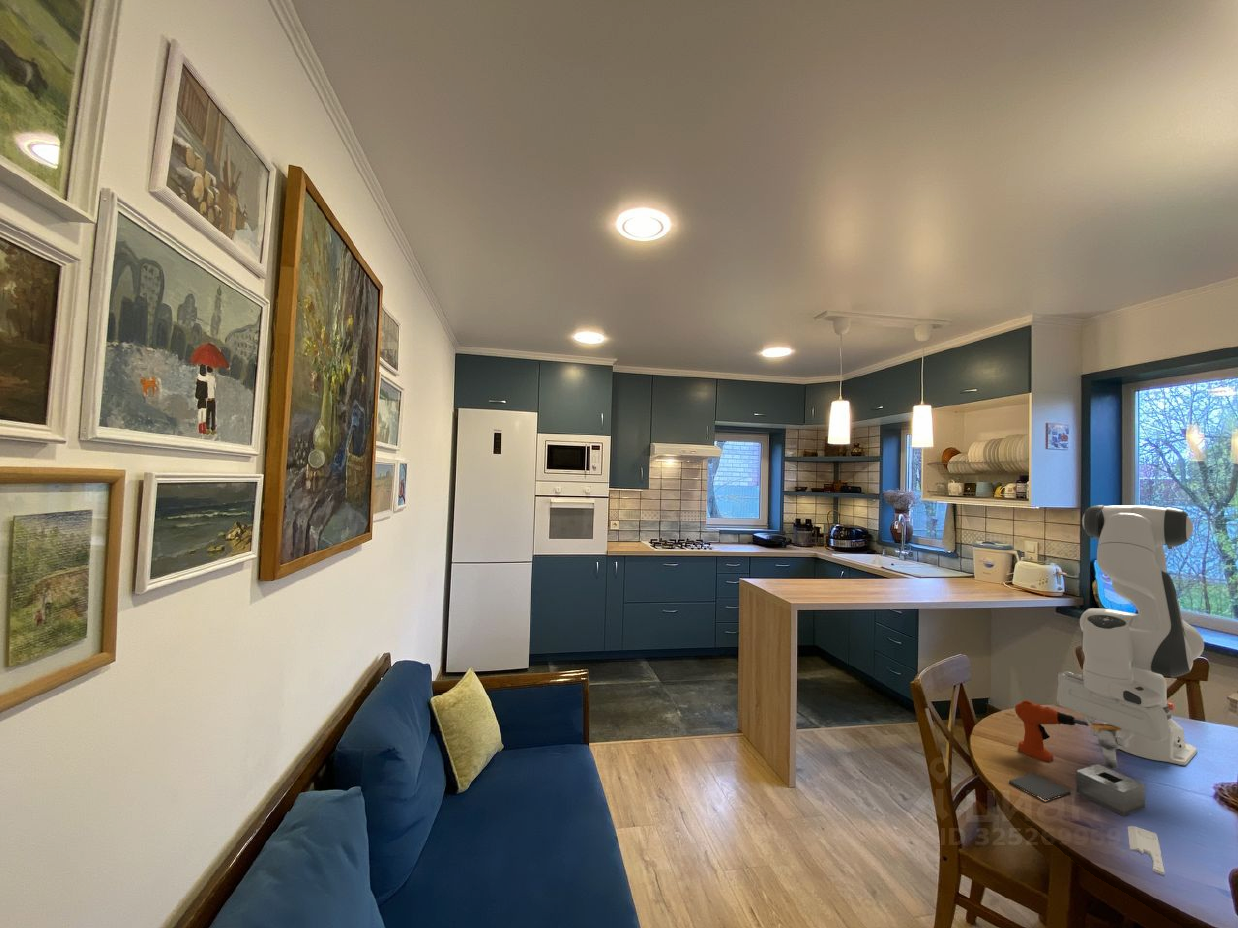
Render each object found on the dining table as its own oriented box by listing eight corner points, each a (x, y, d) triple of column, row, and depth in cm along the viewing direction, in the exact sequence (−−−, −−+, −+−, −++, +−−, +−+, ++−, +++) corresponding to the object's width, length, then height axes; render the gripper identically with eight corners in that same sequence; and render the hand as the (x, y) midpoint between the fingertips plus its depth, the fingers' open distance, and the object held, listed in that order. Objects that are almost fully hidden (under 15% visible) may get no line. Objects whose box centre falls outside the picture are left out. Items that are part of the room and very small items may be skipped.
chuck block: (1097, 785, 127) (1097, 763, 127) (1145, 807, 118) (1144, 784, 118) (1076, 793, 123) (1076, 770, 124) (1123, 816, 115) (1123, 792, 115)
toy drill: (1105, 778, 127) (1093, 717, 129) (1016, 753, 143) (1007, 699, 145) (1110, 772, 130) (1099, 712, 132) (1022, 748, 145) (1014, 695, 147)
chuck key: (1092, 761, 123) (1087, 720, 124) (1119, 762, 122) (1114, 721, 122) (1102, 769, 120) (1097, 727, 120) (1130, 771, 118) (1125, 728, 119)
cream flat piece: (1128, 863, 101) (1128, 857, 101) (1124, 827, 112) (1124, 822, 112) (1165, 876, 98) (1164, 870, 98) (1157, 838, 109) (1157, 832, 109)
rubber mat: (1033, 775, 131) (1033, 772, 131) (1070, 793, 123) (1070, 790, 123) (1009, 782, 127) (1009, 780, 127) (1045, 801, 120) (1045, 799, 120)
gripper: (1050, 670, 130) (1051, 722, 130) (1156, 703, 111) (1158, 765, 111) (1065, 666, 133) (1066, 718, 132) (1172, 698, 113) (1173, 759, 113)
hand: (1109, 740), depth 121 cm, fingers closed on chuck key, 4 cm apart
